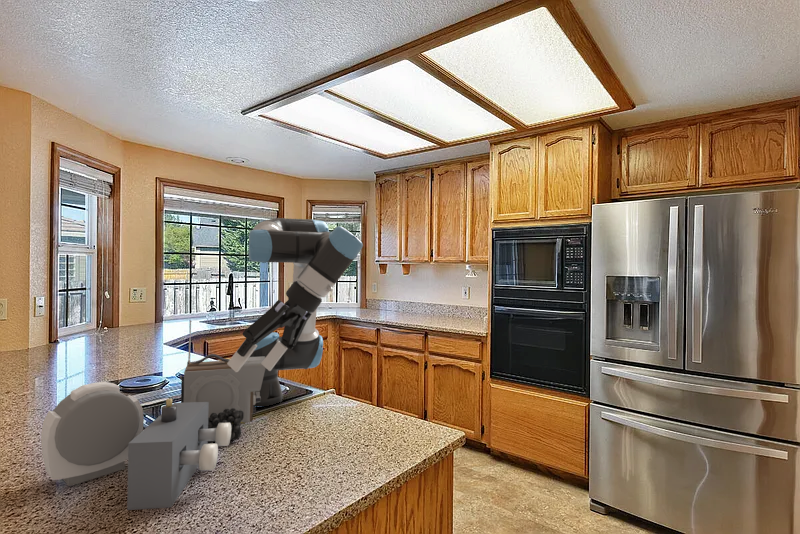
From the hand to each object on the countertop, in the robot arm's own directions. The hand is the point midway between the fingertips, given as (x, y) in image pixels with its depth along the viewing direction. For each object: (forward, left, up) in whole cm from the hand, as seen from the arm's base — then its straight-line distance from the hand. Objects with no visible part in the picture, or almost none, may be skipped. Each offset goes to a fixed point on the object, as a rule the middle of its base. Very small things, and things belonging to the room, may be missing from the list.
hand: (250, 367), depth 93 cm
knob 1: (-11, -10, -21) cm, 26 cm away
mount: (-5, -17, -26) cm, 31 cm away
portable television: (-41, -15, -26) cm, 50 cm away
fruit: (-25, -13, -26) cm, 38 cm away
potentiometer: (-5, -18, -13) cm, 22 cm away
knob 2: (+1, -10, -21) cm, 24 cm away
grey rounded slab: (-9, -35, -26) cm, 44 cm away
